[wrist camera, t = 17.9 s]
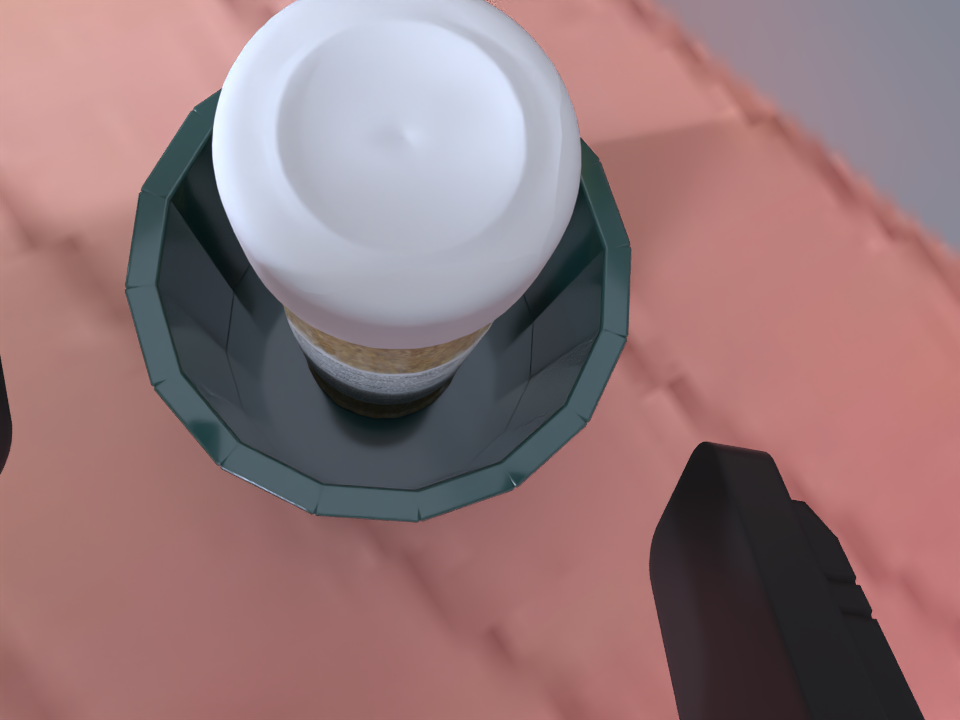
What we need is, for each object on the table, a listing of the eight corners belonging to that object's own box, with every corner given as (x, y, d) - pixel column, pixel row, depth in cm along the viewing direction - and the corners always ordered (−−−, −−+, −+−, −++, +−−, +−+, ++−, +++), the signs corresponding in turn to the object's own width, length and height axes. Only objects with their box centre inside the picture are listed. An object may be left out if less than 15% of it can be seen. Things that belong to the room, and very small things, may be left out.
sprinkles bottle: (350, 239, 23) (322, -106, 10) (489, 311, 23) (650, 70, 10) (273, 377, 22) (125, 204, 9) (419, 451, 22) (491, 391, 9)
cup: (140, 319, 22) (16, 226, 15) (404, 124, 24) (419, -49, 17) (361, 583, 22) (356, 633, 14) (610, 363, 24) (725, 300, 16)
